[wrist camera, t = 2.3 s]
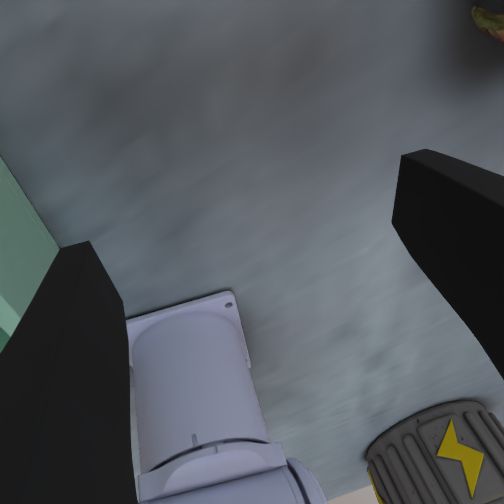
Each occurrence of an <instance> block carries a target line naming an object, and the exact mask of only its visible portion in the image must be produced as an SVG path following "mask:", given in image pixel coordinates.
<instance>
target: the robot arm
mask: <svg viewBox="0 0 504 504" xmlns="http://www.w3.org/2000/svg"><path fill="white" fill-rule="evenodd" d="M391 223H392V225H393V226H394V228H395V230H396V232H397V233H398V235H399V237H400V239H401V241H402V242H403V244H404V245H405V247H406V249H407V250H408V252H409V254H410V255H411V257H412V258H413V259H414V261H415V262H416V263H417V264H418V266H419V267H420V268H421V269H422V271H423V272H424V273H425V274H426V276H427V277H428V278H429V280H430V281H431V282H432V283H433V284H434V286H435V287H436V288H437V289H438V291H439V292H440V293H441V294H442V296H443V297H444V298H445V299H446V300H447V302H448V303H449V304H450V305H451V307H452V308H453V309H454V310H455V312H456V313H457V314H458V315H459V316H460V318H461V319H462V320H463V321H464V323H465V324H466V325H467V326H468V328H469V329H470V330H471V332H472V333H473V334H474V336H475V337H476V338H477V340H478V341H479V343H480V344H481V346H482V347H483V349H484V350H485V352H486V353H487V355H488V356H489V358H490V360H491V361H492V363H493V364H494V366H495V367H496V369H497V370H498V372H499V373H500V375H501V376H502V378H503V380H504V176H501V175H499V174H496V173H493V172H491V171H488V170H485V169H483V168H480V167H477V166H475V165H472V164H470V163H467V162H464V161H461V160H459V159H456V158H453V157H450V156H448V155H445V154H442V153H439V152H436V151H432V150H429V149H423V150H419V151H415V152H412V153H408V154H404V155H401V161H400V168H399V175H398V182H397V188H396V195H395V202H394V209H393V215H392V222H391ZM129 365H130V366H131V368H132V369H133V374H134V387H135V401H136V415H137V428H138V442H139V456H140V470H141V474H140V475H139V476H138V488H139V503H138V500H137V496H136V488H135V479H134V471H133V463H132V451H131V431H130V372H129ZM250 368H251V362H250V358H249V354H248V349H247V345H246V341H245V337H244V333H243V329H242V325H241V321H240V317H239V313H238V308H237V304H236V300H235V296H234V294H233V292H231V291H224V292H221V293H217V294H214V295H211V296H207V297H204V298H200V299H197V300H194V301H190V302H187V303H183V304H180V305H177V306H173V307H170V308H166V309H163V310H160V311H156V312H153V313H149V314H146V315H143V316H139V317H136V318H132V319H129V320H126V319H125V313H124V306H123V301H122V299H121V297H120V295H119V293H118V292H117V290H116V288H115V286H114V284H113V283H112V281H111V279H110V277H109V275H108V274H107V272H106V270H105V268H104V267H103V265H102V263H101V261H100V259H99V258H98V256H97V254H96V252H95V250H94V249H93V247H92V245H91V243H90V241H85V242H82V243H78V244H74V245H71V246H67V247H63V248H60V250H59V251H58V253H57V255H56V257H55V258H54V260H53V262H52V264H51V266H50V267H49V269H48V271H47V273H46V275H45V277H44V278H43V280H42V282H41V284H40V286H39V288H38V290H37V291H36V293H35V295H34V297H33V299H32V301H31V302H30V304H29V306H28V308H27V309H26V311H25V313H24V315H23V316H22V318H21V320H20V322H19V323H18V325H17V327H16V329H15V330H14V332H13V334H12V335H11V337H10V339H9V340H8V342H7V344H6V345H5V347H4V348H3V350H2V351H1V353H0V504H328V503H327V500H326V498H325V495H324V493H323V491H322V489H321V487H320V485H319V483H318V481H317V479H316V478H315V476H314V475H313V474H312V472H311V471H310V470H309V469H307V468H306V467H305V466H304V465H303V464H302V463H301V462H300V461H298V460H297V459H295V458H289V459H286V458H285V455H284V452H283V449H282V446H281V443H280V442H276V443H271V442H270V438H269V435H268V432H267V428H266V425H265V422H264V418H263V415H262V412H261V409H260V405H259V402H258V399H257V395H256V392H255V389H254V385H253V382H252V379H251V375H250V372H249V369H250Z"/></svg>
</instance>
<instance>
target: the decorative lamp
mask: <svg viewBox="0 0 504 504" xmlns="http://www.w3.org/2000/svg"><path fill="white" fill-rule="evenodd" d="M366 459H367V461H368V463H369V464H368V467H367V472H368V474H369V476H370V479H371V482H372V485H373V488H374V490H375V494H376V497H377V499H378V502H379V504H504V427H503V426H502V425H501V423H500V422H499V421H498V419H497V418H496V416H495V415H494V414H492V413H488V412H487V411H486V409H485V408H484V406H482V405H481V404H480V403H478V402H475V401H465V400H461V401H456V402H450V403H445V404H442V405H439V406H436V407H433V408H430V409H427V410H425V411H422V412H420V413H418V414H416V415H413V416H411V417H409V418H407V419H405V420H404V421H402V422H400V423H399V424H397V425H395V426H393V427H392V428H390V429H389V430H388V431H386V432H385V433H384V434H382V435H381V436H380V437H378V439H377V440H376V441H375V442H374V443H373V444H372V445H371V446H370V449H369V451H368V454H367V457H366Z"/></svg>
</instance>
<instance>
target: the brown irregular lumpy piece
mask: <svg viewBox="0 0 504 504" xmlns="http://www.w3.org/2000/svg"><path fill="white" fill-rule="evenodd" d="M471 13H472V17H473V19H474V21H475V23H476V25H477V26H478V28H479V29H480V30H481V31H483V32H484V33H485V34H487V35H489V36H491V37H493V38H495V39H497V40H500V41H502V42H504V14H494V13H491V12H489V11H488V10H486V9H484V8H482V7H480V6H474V7H473V9H472V12H471Z"/></svg>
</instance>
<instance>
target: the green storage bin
mask: <svg viewBox="0 0 504 504" xmlns="http://www.w3.org/2000/svg"><path fill="white" fill-rule="evenodd" d="M59 250H60V248H59V247H58V245H57V244H56V242H55V241H54V239H53V238H52V236H51V234H50V233H49V231H48V230H47V228H46V227H45V225H44V223H43V222H42V220H41V219H40V217H39V216H38V214H37V213H36V211H35V209H34V208H33V206H32V205H31V203H30V202H29V200H28V198H27V197H26V195H25V194H24V192H23V191H22V189H21V188H20V186H19V184H18V183H17V181H16V180H15V178H14V177H13V175H12V174H11V172H10V170H9V169H8V167H7V166H6V164H5V163H4V161H3V159H2V158H1V156H0V353H1V351H2V350H3V348H4V347H5V345H6V344H7V342H8V340H9V339H10V337H11V335H12V334H13V332H14V330H15V329H16V327H17V325H18V323H19V322H20V320H21V318H22V316H23V315H24V313H25V311H26V309H27V308H28V306H29V304H30V302H31V301H32V299H33V297H34V295H35V293H36V291H37V290H38V288H39V286H40V284H41V282H42V280H43V278H44V277H45V275H46V273H47V271H48V269H49V267H50V266H51V264H52V262H53V260H54V258H55V257H56V255H57V253H58V251H59Z"/></svg>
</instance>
